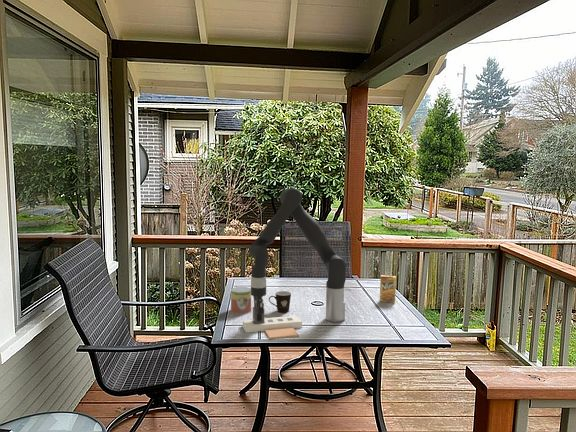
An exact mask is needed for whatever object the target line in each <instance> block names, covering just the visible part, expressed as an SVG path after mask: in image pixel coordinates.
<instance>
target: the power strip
mask: <svg viewBox="0 0 576 432" xmlns="http://www.w3.org/2000/svg"><path fill="white" fill-rule="evenodd" d="M242 327H243V329H244V331H245V333H254V332H256V333H257V332H265V330H269V329H281V328H292V327H293V328H294V329H298V328H300V329H301V328H303V321H302V320H301V318H300V317H299V316H298V315H289V316H279V317H278V316H277V317H264V323H261V324H253V318H252V319H250V318H249V319H242Z"/></svg>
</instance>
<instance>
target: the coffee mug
mask: <svg viewBox="0 0 576 432" xmlns="http://www.w3.org/2000/svg"><path fill="white" fill-rule="evenodd" d="M274 294H275V296H274V295H270V296H269V297H268V302H269V303H270V304H271V305H273V306H275V307H276V311H277V313H281V314H286V313H289V312H290V307H291V297H292V292H291V291H287V290H286V291H285V290H281V291H276V292H274ZM270 298H274V299H275V301H276V304H275V303H274V302H272V301H271V300H270Z"/></svg>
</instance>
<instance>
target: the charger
mask: <svg viewBox="0 0 576 432" xmlns="http://www.w3.org/2000/svg"><path fill="white" fill-rule="evenodd" d="M259 311H261V310H259ZM264 318H265V308H264V309H263V314H262V321H259V322H258V321H257V309H256V307H254V306H253V307H252V319H253V324H261V323H264Z"/></svg>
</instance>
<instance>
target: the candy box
mask: <svg viewBox="0 0 576 432" xmlns="http://www.w3.org/2000/svg"><path fill="white" fill-rule="evenodd" d="M379 280H380V282H379V302H385V303H392V304H395V303H396V291H397V290H396V289H397V288H396V287H397V276H396V275H387V274H381V275H380V279H379Z"/></svg>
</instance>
